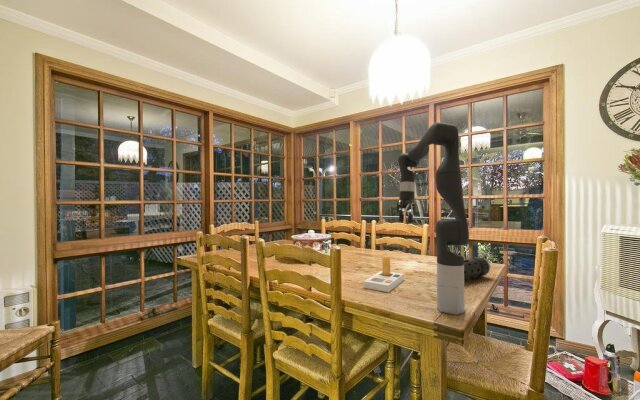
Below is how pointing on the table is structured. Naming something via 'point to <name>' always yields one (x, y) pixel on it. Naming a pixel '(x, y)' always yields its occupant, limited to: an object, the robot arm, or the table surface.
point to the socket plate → (383, 281)
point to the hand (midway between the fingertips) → (405, 222)
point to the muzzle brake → (475, 267)
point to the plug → (386, 266)
